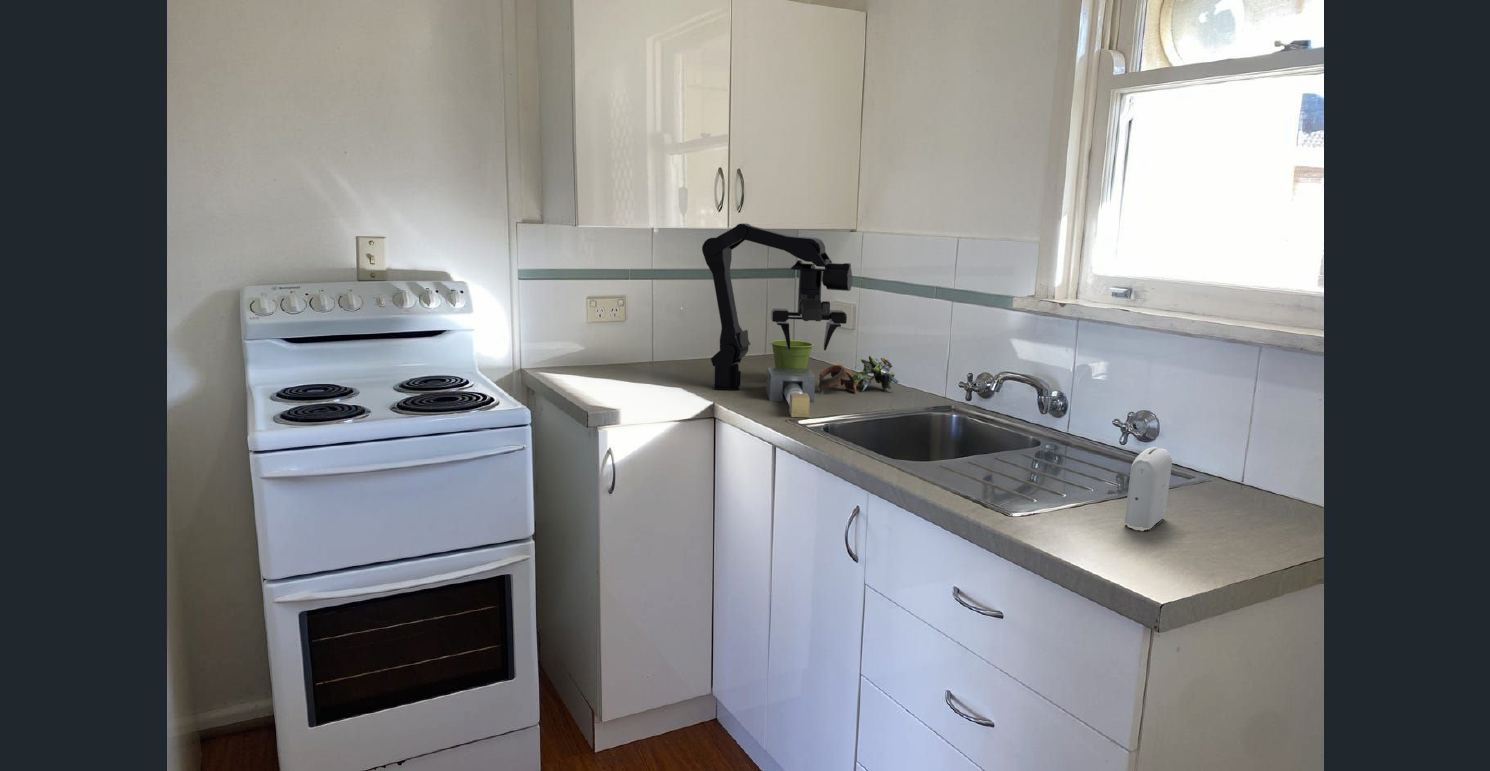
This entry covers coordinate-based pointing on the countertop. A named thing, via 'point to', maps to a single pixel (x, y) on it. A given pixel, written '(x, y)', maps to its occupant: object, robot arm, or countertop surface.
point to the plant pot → (791, 353)
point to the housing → (789, 381)
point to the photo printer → (1148, 488)
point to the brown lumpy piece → (837, 378)
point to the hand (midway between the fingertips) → (806, 349)
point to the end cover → (797, 400)
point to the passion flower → (875, 373)
